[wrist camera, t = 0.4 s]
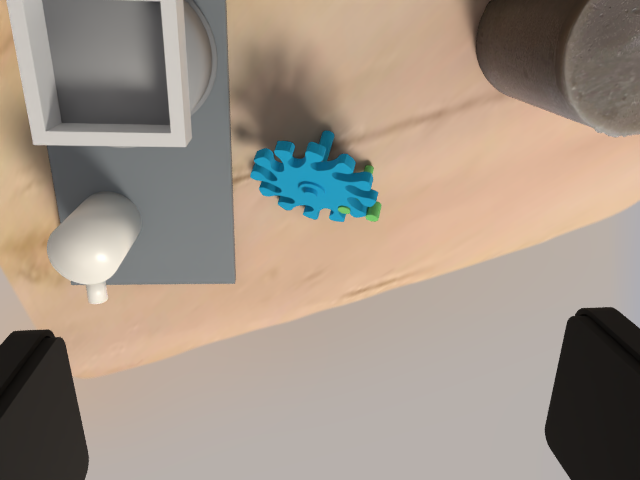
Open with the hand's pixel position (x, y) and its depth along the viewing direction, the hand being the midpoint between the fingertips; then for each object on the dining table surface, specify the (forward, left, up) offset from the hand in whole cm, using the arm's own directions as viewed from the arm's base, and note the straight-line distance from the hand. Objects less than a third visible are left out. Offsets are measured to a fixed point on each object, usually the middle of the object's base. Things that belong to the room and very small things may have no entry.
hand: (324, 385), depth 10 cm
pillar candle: (-5, +20, -35) cm, 40 cm away
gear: (+6, +3, -35) cm, 35 cm away
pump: (+11, -14, -34) cm, 38 cm away
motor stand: (+4, -11, -35) cm, 37 cm away
